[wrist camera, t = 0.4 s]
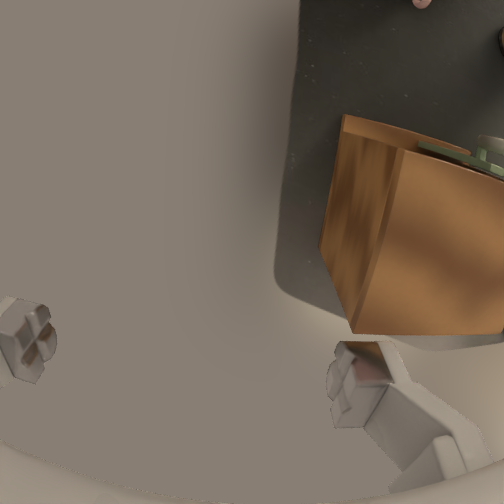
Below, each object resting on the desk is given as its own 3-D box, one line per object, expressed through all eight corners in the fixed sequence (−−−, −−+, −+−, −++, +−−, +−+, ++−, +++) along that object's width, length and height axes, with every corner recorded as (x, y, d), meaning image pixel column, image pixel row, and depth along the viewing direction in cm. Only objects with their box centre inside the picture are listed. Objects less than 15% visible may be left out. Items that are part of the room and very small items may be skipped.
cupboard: (342, 114, 27) (410, 121, 14) (466, 150, 28) (557, 184, 15) (317, 246, 33) (352, 334, 20) (435, 261, 33) (500, 333, 21)
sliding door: (422, 115, 25) (498, 127, 15) (471, 133, 26) (547, 154, 15) (417, 146, 27) (489, 171, 16) (465, 161, 27) (539, 192, 17)
